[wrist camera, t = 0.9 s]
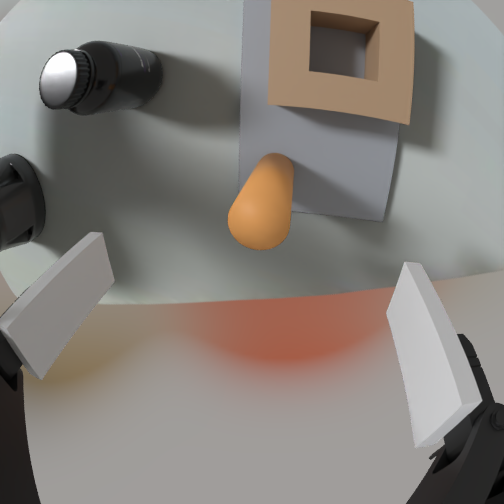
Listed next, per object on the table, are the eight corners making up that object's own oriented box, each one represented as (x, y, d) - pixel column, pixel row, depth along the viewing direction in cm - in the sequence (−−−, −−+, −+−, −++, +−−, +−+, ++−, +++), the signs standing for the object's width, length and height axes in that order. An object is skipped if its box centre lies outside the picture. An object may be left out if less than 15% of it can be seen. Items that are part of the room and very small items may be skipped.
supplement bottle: (174, 54, 23) (102, 40, 12) (153, 114, 26) (78, 132, 16) (121, 44, 22) (42, 37, 12) (104, 100, 26) (25, 116, 15)
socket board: (240, 202, 30) (227, 227, 25) (245, -3, 19) (232, -25, 14) (380, 218, 28) (395, 245, 23) (401, 16, 17) (423, 1, 12)
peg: (255, 187, 28) (228, 246, 18) (257, 151, 26) (227, 190, 16) (292, 190, 27) (287, 253, 17) (295, 154, 26) (292, 195, 15)
